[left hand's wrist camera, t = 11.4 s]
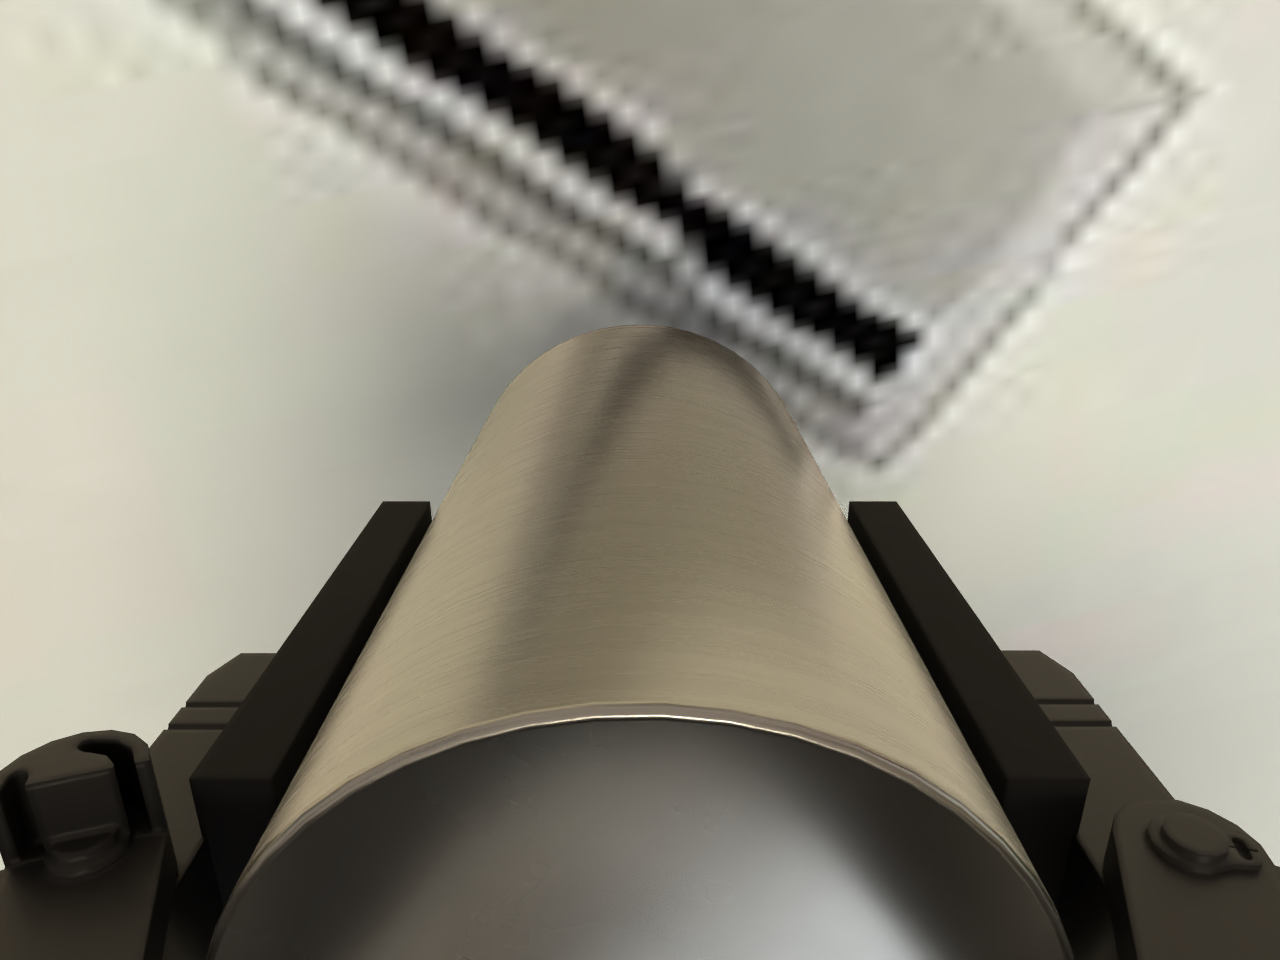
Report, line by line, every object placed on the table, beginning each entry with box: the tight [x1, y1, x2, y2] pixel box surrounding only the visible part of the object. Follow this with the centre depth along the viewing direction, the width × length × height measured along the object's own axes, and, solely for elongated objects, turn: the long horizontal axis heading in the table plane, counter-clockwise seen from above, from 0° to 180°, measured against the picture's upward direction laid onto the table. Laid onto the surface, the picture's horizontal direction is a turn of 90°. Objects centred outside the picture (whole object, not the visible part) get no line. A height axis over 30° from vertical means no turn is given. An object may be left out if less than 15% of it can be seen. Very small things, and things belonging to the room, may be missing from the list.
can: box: [206, 325, 1074, 960], centre depth 12 cm, size 7×7×12 cm
